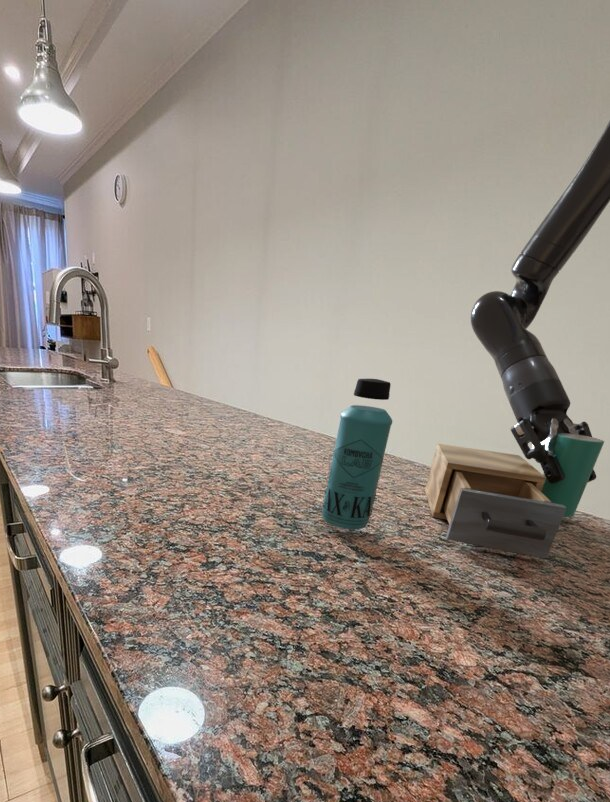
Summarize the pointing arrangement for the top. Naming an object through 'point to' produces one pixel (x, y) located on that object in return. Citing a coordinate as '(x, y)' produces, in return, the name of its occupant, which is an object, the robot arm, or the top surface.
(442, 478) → the cabinet
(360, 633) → the top surface
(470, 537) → the drawer
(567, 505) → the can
